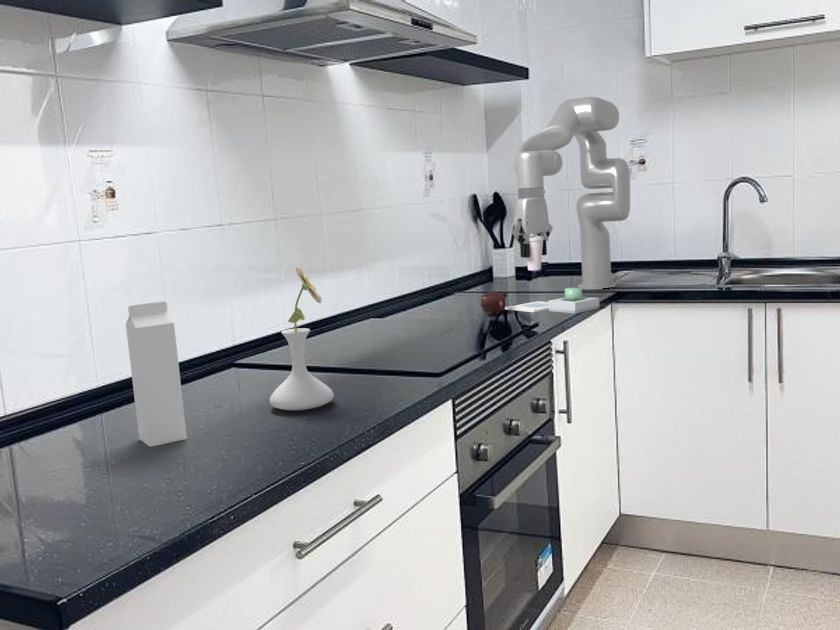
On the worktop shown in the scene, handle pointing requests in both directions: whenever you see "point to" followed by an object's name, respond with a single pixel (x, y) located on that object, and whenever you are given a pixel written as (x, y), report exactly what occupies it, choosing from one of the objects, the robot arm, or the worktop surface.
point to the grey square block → (574, 305)
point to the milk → (155, 374)
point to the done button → (573, 294)
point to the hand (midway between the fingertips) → (533, 255)
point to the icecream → (493, 302)
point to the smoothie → (535, 252)
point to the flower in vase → (300, 366)
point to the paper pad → (530, 307)
